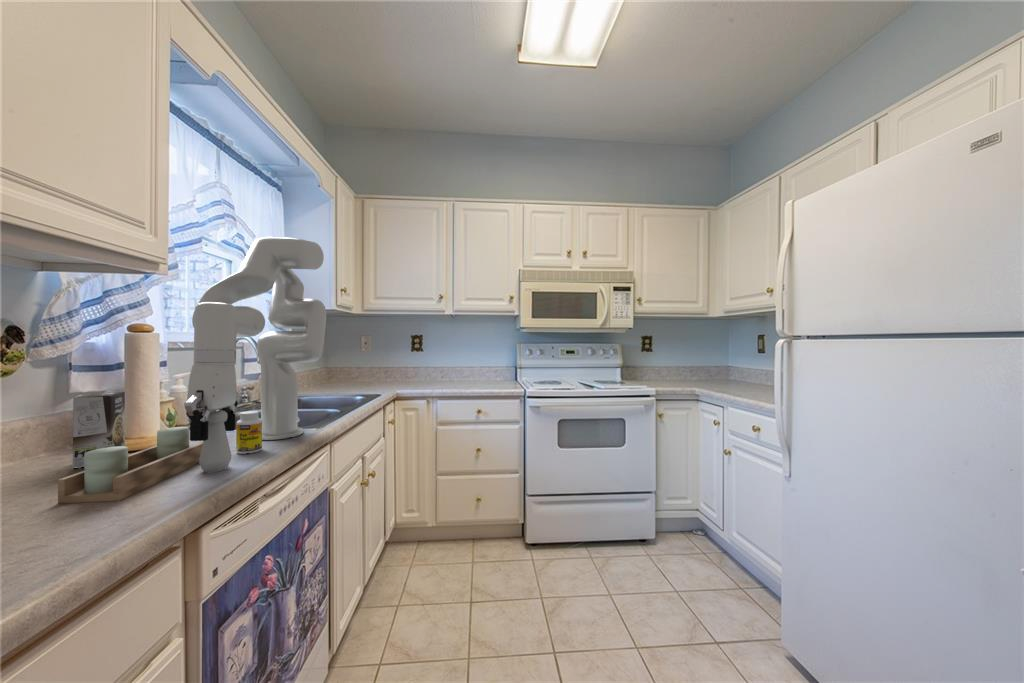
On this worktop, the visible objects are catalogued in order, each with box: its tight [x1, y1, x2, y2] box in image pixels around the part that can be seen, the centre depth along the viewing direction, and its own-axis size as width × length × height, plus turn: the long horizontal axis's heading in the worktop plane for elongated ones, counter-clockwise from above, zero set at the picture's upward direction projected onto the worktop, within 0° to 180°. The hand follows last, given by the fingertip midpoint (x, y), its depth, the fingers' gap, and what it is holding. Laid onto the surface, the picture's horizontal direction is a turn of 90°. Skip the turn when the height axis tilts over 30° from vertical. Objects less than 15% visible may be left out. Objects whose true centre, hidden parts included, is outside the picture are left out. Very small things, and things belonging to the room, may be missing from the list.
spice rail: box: [57, 426, 203, 504], centre depth 80 cm, size 24×10×8 cm, turn 8°
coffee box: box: [72, 391, 126, 469], centre depth 91 cm, size 9×6×16 cm
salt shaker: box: [198, 410, 233, 473], centre depth 86 cm, size 6×6×13 cm
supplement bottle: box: [235, 410, 263, 455], centre depth 100 cm, size 6×6×10 cm
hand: (213, 435), depth 85 cm, fingers open, 9 cm apart
